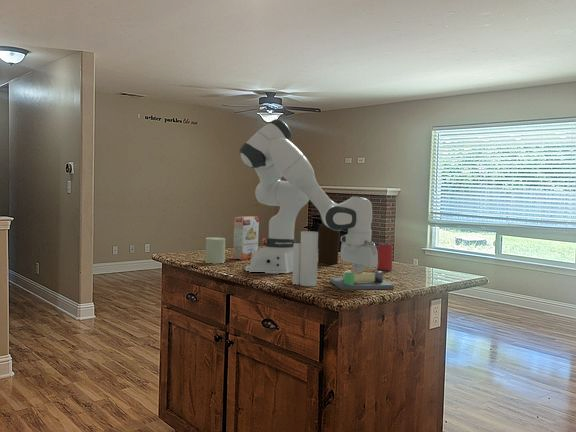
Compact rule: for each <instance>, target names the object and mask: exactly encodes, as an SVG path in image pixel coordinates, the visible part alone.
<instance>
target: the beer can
mask: <svg viewBox="0 0 576 432" xmlns="http://www.w3.org/2000/svg"><path fill="white" fill-rule="evenodd" d="M393 251H394V249H393V244H392V243H391V242H380V243H378V247H377V253H378V265H377V267H376V268H377V271H382V270H383V272H388V271H392V270H393Z"/></svg>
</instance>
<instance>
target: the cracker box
mask: <svg viewBox="0 0 576 432" xmlns="http://www.w3.org/2000/svg"><path fill="white" fill-rule="evenodd" d="M233 220H234V223H233V246H232V247H233V250H232V260H236V259H240V260H239V261H244V260H243V259H246V260H249V259H248V258H252V256H253V254H255V253H256V252H257V251H259V233H260V232H259V230H260V229H259V227H260V217H259V216H253V215H251V216H235V217H234V219H233Z"/></svg>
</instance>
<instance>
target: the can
mask: <svg viewBox="0 0 576 432" xmlns="http://www.w3.org/2000/svg"><path fill="white" fill-rule="evenodd" d="M205 262H206V263H224V262H225V263H226V238H225V237H218V236H217V237H216V236H215V237H214V236H213V237H212V236H211V237H206V238H205ZM205 262H204V263H205ZM206 263H205V264H206ZM225 263H224V264H225Z"/></svg>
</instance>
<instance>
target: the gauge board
mask: <svg viewBox="0 0 576 432" xmlns="http://www.w3.org/2000/svg"><path fill="white" fill-rule="evenodd" d="M329 282H331V283H332V284H333V285H334V286H336V287H337V288H339V289H340V290H341V291H342V290H343V291H344V290H347V291H348V290H350V291H351V290H352V291H355V290H359V291H360V290H395V284H393V283H392V282H389V281H387V280H385V279H383V282H355V283H354V274H352V270H350V269H348V270H346V271H343V274H342V277H330V279H329Z"/></svg>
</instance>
